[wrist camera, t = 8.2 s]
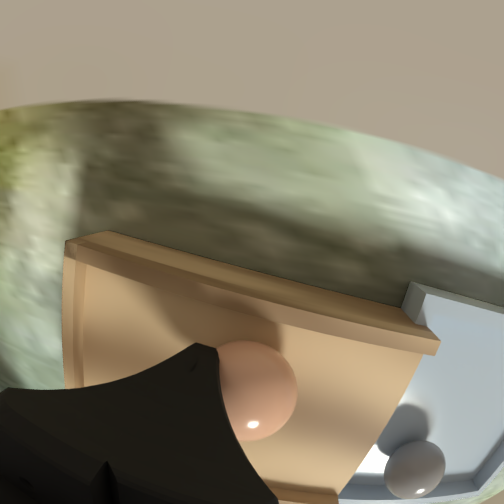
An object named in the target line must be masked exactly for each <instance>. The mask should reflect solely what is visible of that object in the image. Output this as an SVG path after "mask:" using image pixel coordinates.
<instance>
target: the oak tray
mask: <svg viewBox="0 0 504 504" xmlns="http://www.w3.org/2000/svg"><path fill="white" fill-rule="evenodd" d="M240 340H249V341H256V342H260V343H263V344H265V345H268V346H270V347H272V348H273V349H275V350H276V351H278V352H279V353H280V354H281V355H283V357H284V358H285V359H286V360H287V361H288V362H289V364H290V366H291V367H292V369H293V371H294V374H295V377H296V380H297V386H298V397H297V403H296V406H295V409H294V411H293V413H292V415H291V417H290V418H289V420H288V421H287V422H286V424H285V425H284V426H283V427H282V428H281V429H279V430H278V431H277V432H275V433H274V434H272V435H270V436H268V437H266V438H263V439H260V440H256V441H249V442H241V441H238V442H239V443H240V445H241V447H242V449H243V451H244V453H245V454H246V456H247V458H248V460H249V461H250V463H251V464H252V466H253V467H254V469H255V470H256V472H257V473H258V475H259V476H260V477H261V479H262V480H263V481H264V483H265V484H266V485H267V486H268V488H269V489H270V490H271V491H272V492H273V493H274V494H275V496H276V497H277V498H278V501H279V504H339V501H338V495H339V493H340V492H341V491H342V489H343V488H344V487H345V485H346V484H347V483H348V481H349V480H350V479H351V477H352V476H353V475H354V473H355V472H356V470H357V469H358V468H359V466H360V465H361V463H362V462H363V460H364V459H365V458H366V456H367V455H368V453H369V452H370V450H371V449H372V447H373V445H374V444H375V442H376V441H377V439H378V438H379V436H380V434H381V433H382V431H383V430H384V428H385V426H386V425H387V423H388V421H389V420H390V418H391V416H392V414H393V413H394V411H395V409H396V407H397V406H398V404H399V402H400V400H401V398H402V397H403V395H404V393H405V391H406V389H407V387H408V385H409V383H410V381H411V379H412V377H413V375H414V373H415V371H416V369H417V367H418V365H419V363H420V361H421V359H422V357H423V354H425V355H431V356H435V355H436V352H437V350H438V348H439V346H440V344H441V340H440V339H439V338H438V337H437V336H436V335H435V334H434V333H433V332H432V331H431V330H430V329H429V328H428V327H427V326H423V325H418V324H415V323H414V322H413V321H412V320H411V319H410V318H409V317H408V315H407V314H406V313H405V312H404V311H403V310H402V309H401V308H398V307H394V306H390V305H386V304H382V303H378V302H374V301H370V300H366V299H362V298H358V297H354V296H350V295H346V294H342V293H338V292H334V291H330V290H326V289H322V288H318V287H315V286H311V285H307V284H303V283H299V282H295V281H291V280H288V279H284V278H280V277H276V276H272V275H268V274H265V273H261V272H257V271H253V270H250V269H246V268H242V267H238V266H235V265H231V264H227V263H223V262H220V261H216V260H212V259H209V258H205V257H201V256H198V255H194V254H190V253H187V252H183V251H180V250H176V249H172V248H169V247H165V246H162V245H158V244H154V243H151V242H147V241H144V240H140V239H137V238H133V237H130V236H126V235H123V234H119V233H116V232H112V231H109V230H108V231H103V232H99V233H95V234H91V235H86V236H82V237H78V238H74V239H70V240H66V241H65V251H64V264H63V283H62V348H63V366H64V379H65V389H72V388H81V387H87V386H92V385H98V384H103V383H108V382H112V381H115V380H119V379H122V378H125V377H128V376H131V375H134V374H137V373H139V372H141V371H143V370H146V369H148V368H150V367H152V366H155V365H157V364H159V363H160V362H162V361H164V360H166V359H168V358H170V357H172V356H173V355H175V354H177V353H179V352H180V351H182V350H183V349H185V348H187V347H188V346H190V345H192V344H194V343H196V342H197V343H200V344H203V345H207V346H210V347H214V348H217V347H219V346H221V345H223V344H226V343H229V342H233V341H240Z"/></svg>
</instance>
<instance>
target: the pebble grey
mask: <svg viewBox="0 0 504 504" xmlns="http://www.w3.org/2000/svg"><path fill="white" fill-rule="evenodd" d="M445 468H446V460H445V456H444V454H443V452H442V450H441V449H440V448H439V447H438V446H437V445H436V444H434V443H432V442H429V441H425V440H416V441H411V442H408V443H406V444H404V445H402V446H400V447H399V448H398V449H396V450H395V451H394V452H393V453H392V454H391V456H390V457H389V459H388V460H387V462H386V465H385V468H384V482H385V485H386V487H387V489H388V490H389V491H390V492H391V493H392V494H393V495H395V496H397V497H399V498H403V499H416V498H419V497H422V496H424V495H426V494H428V493H430V492H431V491H432V490H433V489H435V488H436V486H437V485H438V484H439V483H440V481H441V480H442V478H443V476H444V473H445Z"/></svg>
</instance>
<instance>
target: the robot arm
mask: <svg viewBox="0 0 504 504" xmlns="http://www.w3.org/2000/svg"><path fill="white" fill-rule="evenodd" d="M219 363H220V360H219V355H218V351H217V348H214V347H210V346H207V345H203V344H200V343H197V342H196V343H194V344H192V345H190V346H188V347H187V348H185V349H183V350H182V351H180V352H179V353H177V354H175V355H173V356H172V357H170V358H168V359H166V360H164V361H162V362H160V363H159V364H157V365H155V366H152V367H150V368H148V369H146V370H143V371H141V372H139V373H137V374H134V375H131V376H128V377H125V378H122V379H119V380H115V381H112V382H108V383H103V384H98V385H92V386H87V387H81V388H72V389H59V390H34V389H18V388H9V387H8V388H6V389H5V390H4V391H2V392H1V393H0V504H279V501H278V498H277V497H276V496H275V494H274V493H273V492H272V491H271V490H270V489H269V488H268V486H267V485H266V484H265V483H264V481H263V480H262V479H261V477H260V476H259V475H258V473H257V472H256V470H255V469H254V467H253V466H252V464H251V463H250V461H249V460H248V458H247V456H246V454H245V453H244V451H243V449H242V447H241V445H240V443H239V442H238V440H237V438H236V435H235V433H234V431H233V428H232V426H231V423H230V421H229V418H228V415H227V412H226V408H225V404H224V400H223V396H222V391H221V384H220V374H219Z"/></svg>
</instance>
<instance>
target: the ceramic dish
mask: <svg viewBox="0 0 504 504" xmlns="http://www.w3.org/2000/svg"><path fill="white" fill-rule="evenodd" d="M401 309H402V310H403V311H404V312H405V313H406V314H407V315H408V317H409V318H410V319H411V320H412V321H413V322H414V323H415V324H418V325H423V326H427V327H428V328H429V329H430V330H431V331H432V332H433V333H434V334H435V335H436V336H437V337H438V338H439V339H440V340H441V344H440V346H439V348H438V350H437V352H436V355H435V356H431V355H425V354H423V357H422V359H421V361H420V363H419V365H418V367H417V369H416V371H415V373H414V375H413V377H412V379H411V381H410V383H409V385H408V387H407V389H406V391H405V393H404V395H403V397H402V398H401V400H400V402H399V404H398V406H397V407H396V409H395V411H394V413H393V414H392V416H391V418H390V420H389V421H388V423H387V425H386V426H385V428H384V430H383V431H382V433H381V434H380V436H379V438H378V439H377V441H376V442H375V444H374V445H373V447H372V449H371V450H370V452H369V453H368V455H367V456H366V458H365V459H364V460H363V462H362V463H361V465H360V466H359V468H358V469H357V470H356V472H355V473H354V475H353V476H352V477H351V479H350V480H349V481H348V483H347V484H346V485H345V487H344V488H343V489H342V491H341V492H340V493H339V495H338V501H339V504H427V503H436V502H444V501H451V500H458V499H464V498H470V497H475V496H479V495H480V494H481V492H482V491H483V490H484V489H485V488H486V487H487V486H488V485H489V484H490V482H491V481H492V480H493V479H494V478H495V477H496V476H497V474H498V473H499V472H500V471H501V470H502V468H503V467H504V307H500V306H497V305H493V304H490V303H486V302H483V301H479V300H476V299H472V298H469V297H465V296H462V295H458V294H455V293H451V292H448V291H444V290H441V289H437V288H434V287H430V286H426V285H423V284H419V283H416V282H412V281H410V284H409V287H408V289H407V292H406V295H405V298H404V301H403V303H402V306H401ZM416 440H425V441H429V442H432V443H434V444H436V445H437V446H438V447H439V448H440V449H441V450H442V452H443V454H444V456H445V460H446V468H445V473H444V476H443V478H442V480H441V481H440V483H439V484H438V485H437V486H436V488H435V489H433V490H432V491H431V492H430V493H428V494H426V495H424V496H422V497H419V498H416V499H403V498H399V497H397V496H395V495H393V494H392V493H391V492H390V491H389V490H388V489H387V487H386V485H385V482H384V468H385V465H386V462H387V460H388V459H389V457H390V456H391V454H392V453H393V452H394V451H395V450H396V449H398V448H399V447H400V446H402V445H404V444H406V443H408V442H411V441H416Z"/></svg>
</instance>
